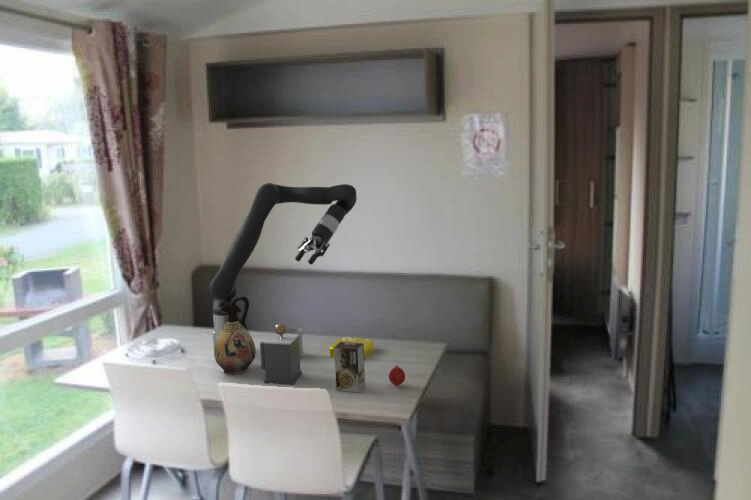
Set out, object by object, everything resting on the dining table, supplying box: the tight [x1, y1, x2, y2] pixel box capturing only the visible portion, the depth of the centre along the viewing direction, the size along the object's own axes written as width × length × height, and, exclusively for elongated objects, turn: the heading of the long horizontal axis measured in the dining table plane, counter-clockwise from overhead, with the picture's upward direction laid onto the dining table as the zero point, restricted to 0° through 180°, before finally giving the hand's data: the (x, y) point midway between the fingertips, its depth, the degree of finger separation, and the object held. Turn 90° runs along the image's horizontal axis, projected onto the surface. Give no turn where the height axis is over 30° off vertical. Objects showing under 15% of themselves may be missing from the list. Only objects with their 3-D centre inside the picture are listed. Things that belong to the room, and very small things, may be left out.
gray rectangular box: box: [259, 332, 303, 385], centre depth 242 cm, size 14×11×16 cm
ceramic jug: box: [213, 294, 257, 376], centre depth 249 cm, size 17×15×30 cm
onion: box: [388, 364, 406, 387], centre depth 232 cm, size 6×6×8 cm
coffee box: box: [334, 342, 366, 394], centre depth 231 cm, size 9×6×16 cm
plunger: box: [274, 322, 287, 339], centre depth 241 cm, size 8×8×19 cm
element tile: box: [329, 336, 375, 360], centre depth 268 cm, size 15×15×5 cm
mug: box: [285, 326, 304, 359], centre depth 266 cm, size 12×8×11 cm
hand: (303, 261), depth 251 cm, fingers open, 8 cm apart
